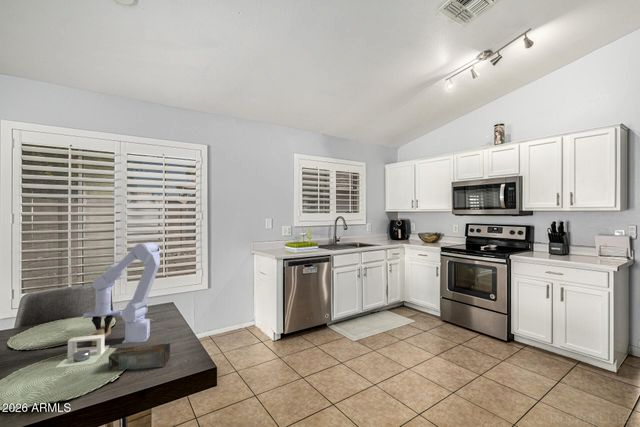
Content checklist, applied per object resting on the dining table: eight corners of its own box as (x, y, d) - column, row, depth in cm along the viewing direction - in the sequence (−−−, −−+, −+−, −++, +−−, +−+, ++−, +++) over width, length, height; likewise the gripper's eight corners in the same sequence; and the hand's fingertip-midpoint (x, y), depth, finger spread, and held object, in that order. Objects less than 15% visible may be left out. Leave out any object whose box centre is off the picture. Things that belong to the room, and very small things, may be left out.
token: (91, 355, 122) (91, 349, 122) (87, 361, 118) (87, 354, 118) (76, 357, 121) (76, 351, 121) (71, 363, 116) (71, 356, 116)
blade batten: (110, 332, 147) (111, 322, 148) (97, 344, 132) (98, 333, 132) (105, 332, 147) (105, 323, 147) (91, 345, 131) (92, 334, 132)
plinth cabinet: (104, 351, 127) (104, 334, 127) (100, 355, 123) (101, 338, 123) (72, 354, 124) (72, 337, 124) (67, 359, 120) (67, 341, 120)
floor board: (109, 346, 132) (110, 345, 132) (94, 364, 116) (94, 363, 116) (76, 349, 128) (76, 348, 129) (55, 369, 112) (55, 367, 112)
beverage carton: (116, 362, 118) (116, 345, 118) (171, 358, 123) (171, 341, 123) (107, 373, 110) (107, 354, 111) (165, 367, 115) (166, 349, 115)
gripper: (124, 299, 146) (123, 328, 146) (88, 301, 142) (87, 331, 142) (119, 303, 140) (119, 333, 140) (81, 305, 135) (80, 336, 135)
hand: (102, 332), depth 140 cm, fingers closed on blade batten, 2 cm apart
